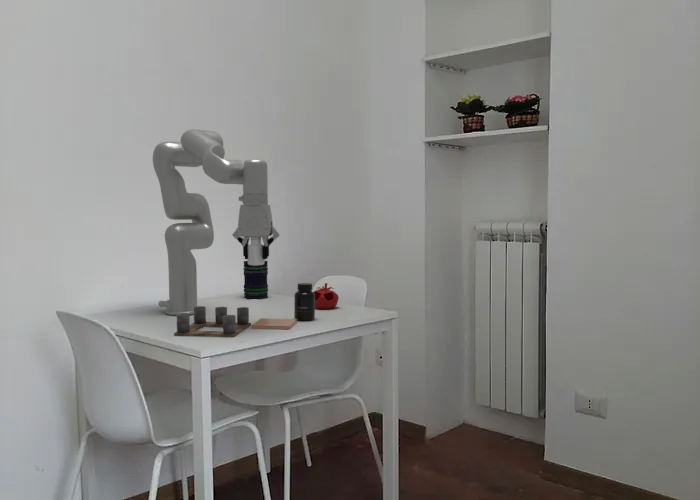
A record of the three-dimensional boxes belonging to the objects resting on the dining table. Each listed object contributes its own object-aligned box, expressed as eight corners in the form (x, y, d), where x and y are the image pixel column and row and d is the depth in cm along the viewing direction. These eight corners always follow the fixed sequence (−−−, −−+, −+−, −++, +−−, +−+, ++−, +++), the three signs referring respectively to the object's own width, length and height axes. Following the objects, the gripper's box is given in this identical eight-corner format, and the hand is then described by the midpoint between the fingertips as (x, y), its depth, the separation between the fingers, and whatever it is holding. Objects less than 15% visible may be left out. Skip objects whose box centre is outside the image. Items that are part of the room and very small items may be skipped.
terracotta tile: (251, 328, 198) (251, 325, 198) (261, 321, 210) (261, 318, 210) (289, 329, 197) (289, 326, 197) (297, 322, 209) (297, 319, 209)
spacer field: (174, 335, 188) (173, 316, 187) (196, 324, 206) (195, 306, 205) (234, 337, 186) (233, 317, 185) (251, 325, 203) (250, 307, 203)
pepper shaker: (256, 264, 202) (256, 233, 202) (265, 264, 200) (264, 234, 199) (246, 265, 199) (246, 234, 199) (255, 265, 197) (255, 234, 196)
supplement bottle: (299, 322, 209) (299, 285, 208) (291, 318, 215) (290, 283, 214) (318, 320, 212) (318, 284, 211) (310, 317, 218) (309, 282, 217)
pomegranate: (316, 306, 243) (316, 281, 243) (342, 306, 240) (341, 282, 240) (307, 309, 234) (307, 284, 233) (333, 310, 231) (333, 284, 230)
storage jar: (240, 299, 259) (239, 262, 257) (248, 295, 268) (247, 260, 267) (264, 299, 257) (263, 262, 256) (271, 296, 267) (270, 260, 265)
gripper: (224, 200, 196) (225, 259, 197) (279, 200, 193) (279, 260, 195) (232, 200, 203) (233, 257, 204) (285, 200, 201) (285, 258, 202)
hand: (256, 258), depth 199 cm, fingers closed on pepper shaker, 5 cm apart
